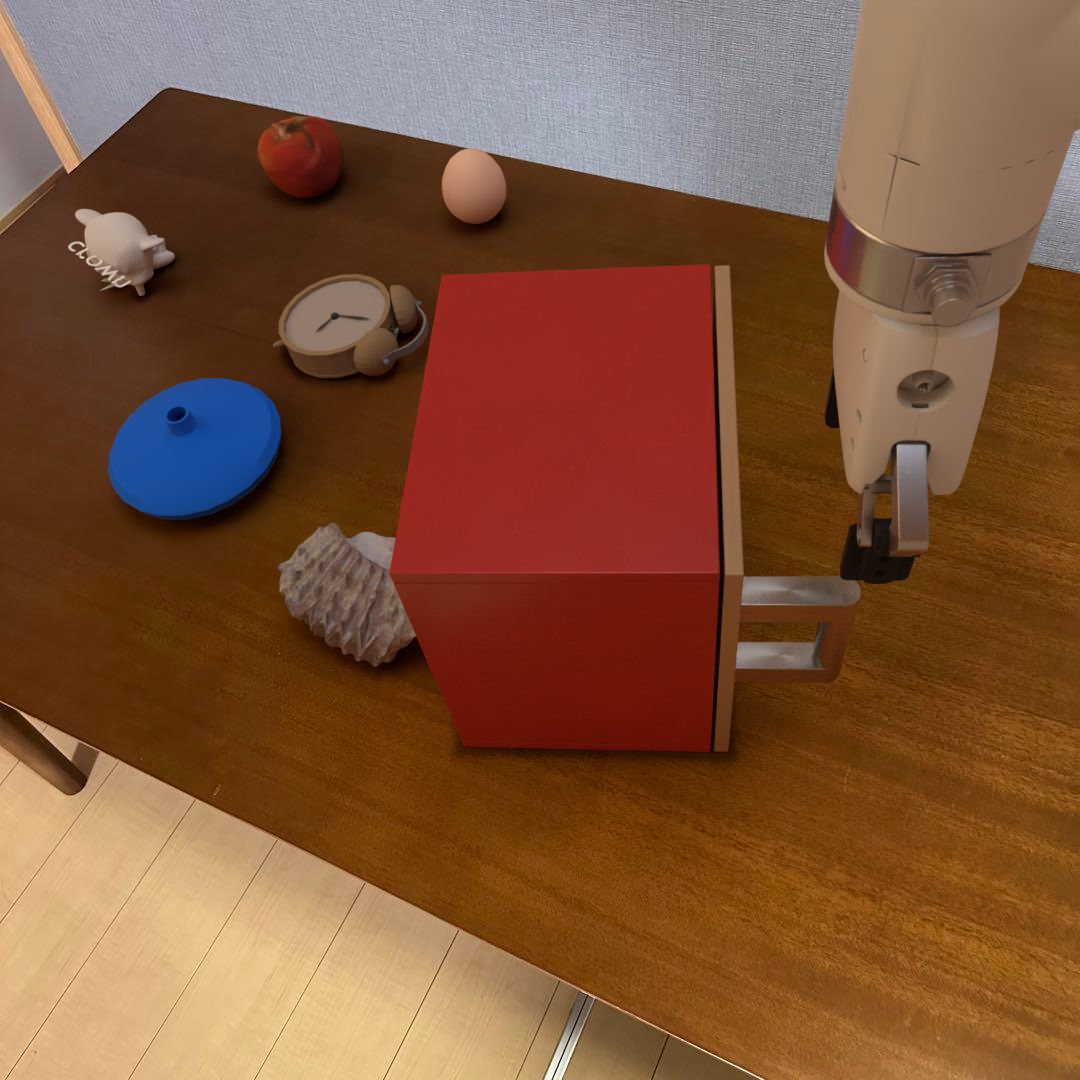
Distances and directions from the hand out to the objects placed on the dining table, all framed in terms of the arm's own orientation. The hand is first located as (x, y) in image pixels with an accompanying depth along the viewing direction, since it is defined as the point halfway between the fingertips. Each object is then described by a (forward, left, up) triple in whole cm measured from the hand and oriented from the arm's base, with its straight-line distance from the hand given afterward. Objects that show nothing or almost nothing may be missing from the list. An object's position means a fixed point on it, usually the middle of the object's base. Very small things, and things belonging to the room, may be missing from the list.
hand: (863, 495), depth 54 cm
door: (+3, -9, -26) cm, 28 cm away
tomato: (+50, -64, -27) cm, 86 cm away
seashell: (+34, -9, -27) cm, 44 cm away
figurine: (+66, -49, -27) cm, 87 cm away
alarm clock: (+40, -39, -27) cm, 62 cm away
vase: (+52, -24, -27) cm, 63 cm away
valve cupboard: (+16, -9, -27) cm, 32 cm away
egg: (+30, -57, -27) cm, 70 cm away
